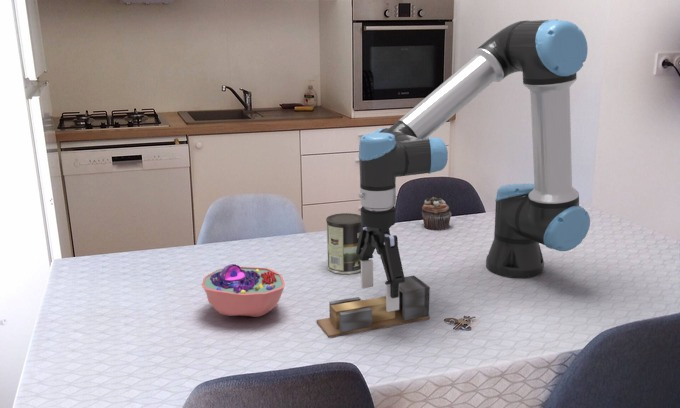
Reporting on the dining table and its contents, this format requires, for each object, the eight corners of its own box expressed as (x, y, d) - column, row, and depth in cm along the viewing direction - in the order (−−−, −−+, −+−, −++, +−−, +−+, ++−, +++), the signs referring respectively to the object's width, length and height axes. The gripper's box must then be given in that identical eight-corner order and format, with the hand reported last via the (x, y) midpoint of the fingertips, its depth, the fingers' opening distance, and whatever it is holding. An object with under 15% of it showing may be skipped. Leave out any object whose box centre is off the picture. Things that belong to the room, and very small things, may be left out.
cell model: (256, 338, 135) (253, 288, 132) (187, 317, 146) (184, 270, 143) (302, 309, 149) (301, 263, 146) (236, 291, 160) (234, 248, 157)
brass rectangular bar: (388, 311, 146) (388, 295, 145) (395, 318, 143) (395, 301, 142) (330, 322, 141) (330, 305, 140) (336, 328, 138) (336, 311, 137)
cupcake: (443, 233, 203) (444, 202, 200) (416, 228, 208) (416, 198, 206) (455, 225, 211) (456, 196, 208) (429, 220, 216) (429, 192, 213)
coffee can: (367, 262, 179) (367, 213, 175) (361, 275, 169) (361, 224, 165) (331, 259, 181) (330, 212, 177) (323, 273, 171) (322, 222, 167)
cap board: (412, 305, 150) (413, 275, 148) (429, 318, 143) (430, 287, 141) (316, 322, 142) (315, 290, 140) (328, 337, 135) (328, 304, 133)
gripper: (340, 194, 146) (343, 281, 152) (386, 224, 124) (388, 324, 129) (370, 190, 149) (372, 275, 154) (421, 219, 126) (421, 317, 132)
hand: (379, 298), depth 142 cm, fingers open, 13 cm apart
